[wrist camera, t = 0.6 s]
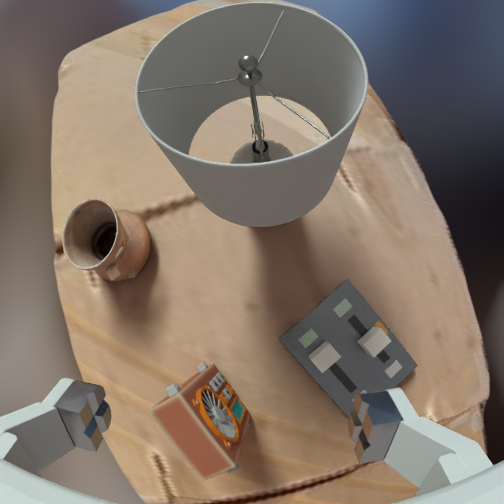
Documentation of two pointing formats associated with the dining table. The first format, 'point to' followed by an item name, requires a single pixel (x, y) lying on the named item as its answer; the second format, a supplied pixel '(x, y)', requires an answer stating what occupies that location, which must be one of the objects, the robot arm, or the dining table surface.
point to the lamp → (253, 104)
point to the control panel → (204, 421)
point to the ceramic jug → (106, 240)
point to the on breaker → (324, 356)
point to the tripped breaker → (374, 341)
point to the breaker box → (347, 347)
